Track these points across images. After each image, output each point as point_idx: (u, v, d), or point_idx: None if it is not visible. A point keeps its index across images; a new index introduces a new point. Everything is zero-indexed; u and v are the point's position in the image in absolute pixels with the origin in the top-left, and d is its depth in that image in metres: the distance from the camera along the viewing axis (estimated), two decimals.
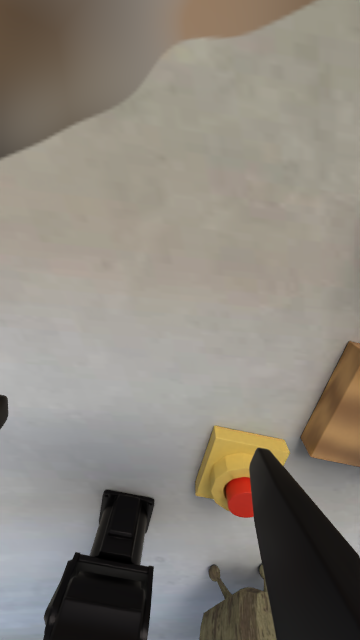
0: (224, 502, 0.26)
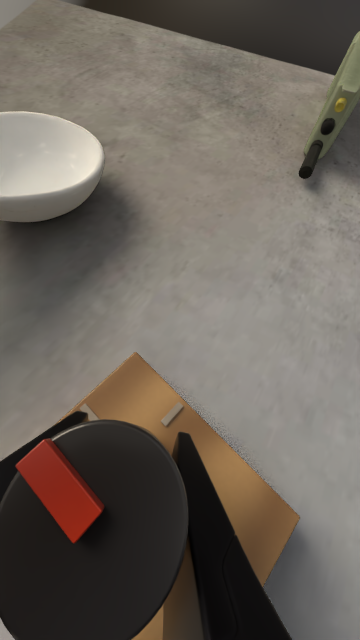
0: None
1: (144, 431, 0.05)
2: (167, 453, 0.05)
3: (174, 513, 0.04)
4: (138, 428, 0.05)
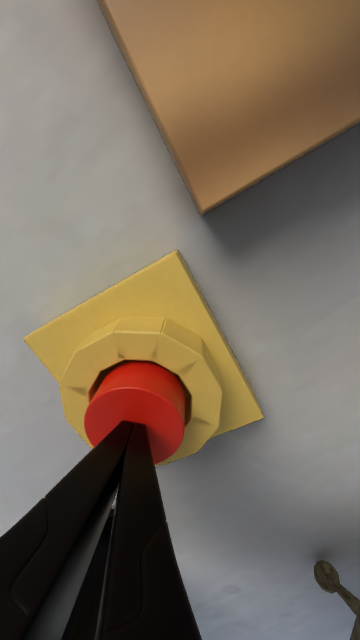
0: None
1: None
2: None
3: None
4: None
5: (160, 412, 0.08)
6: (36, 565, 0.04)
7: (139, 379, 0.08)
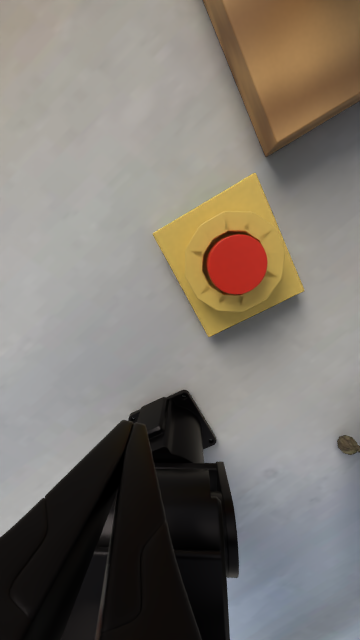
0: (227, 301, 0.17)
1: None
2: None
3: None
4: None
5: (255, 251, 0.15)
6: (36, 565, 0.04)
7: None
